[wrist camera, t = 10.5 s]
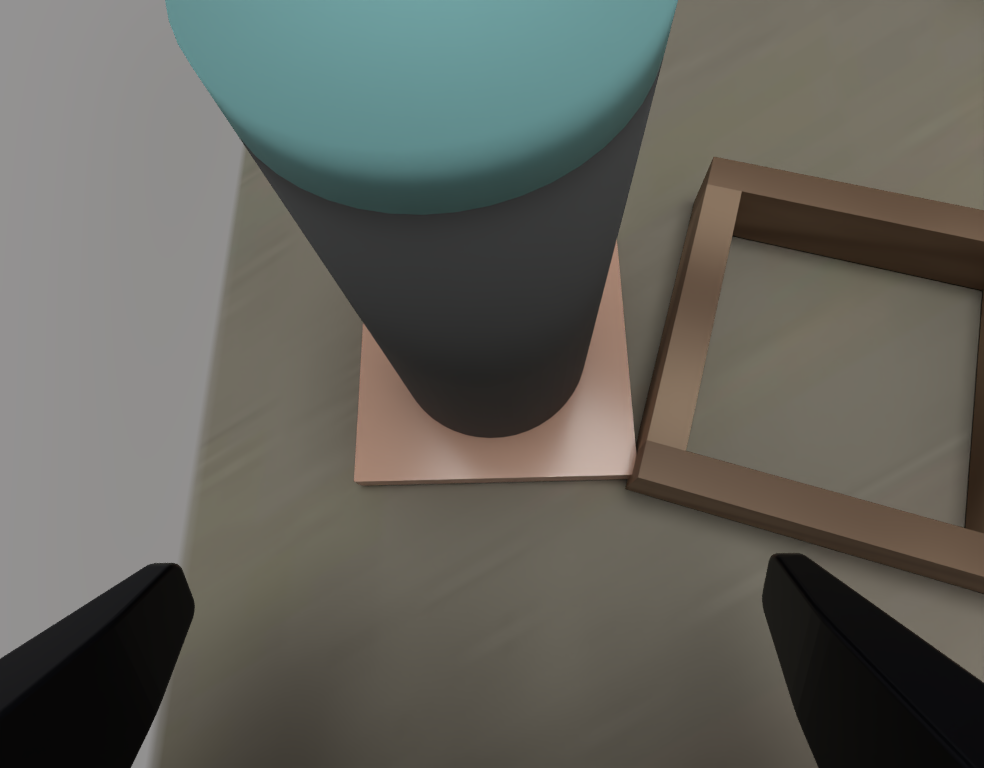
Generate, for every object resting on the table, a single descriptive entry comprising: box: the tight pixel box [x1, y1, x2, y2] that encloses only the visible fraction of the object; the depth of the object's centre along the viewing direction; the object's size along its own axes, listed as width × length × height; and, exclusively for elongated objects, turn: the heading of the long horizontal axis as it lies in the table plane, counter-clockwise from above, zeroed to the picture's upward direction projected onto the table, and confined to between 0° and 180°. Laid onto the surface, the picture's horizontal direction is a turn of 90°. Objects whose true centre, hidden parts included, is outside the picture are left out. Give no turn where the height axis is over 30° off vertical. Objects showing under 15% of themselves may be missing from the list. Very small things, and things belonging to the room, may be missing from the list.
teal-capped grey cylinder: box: [165, 0, 678, 438], centre depth 12 cm, size 6×6×12 cm
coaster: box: [354, 240, 637, 486], centre depth 18 cm, size 8×8×1 cm
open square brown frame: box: [625, 157, 984, 593], centre depth 16 cm, size 10×10×2 cm
